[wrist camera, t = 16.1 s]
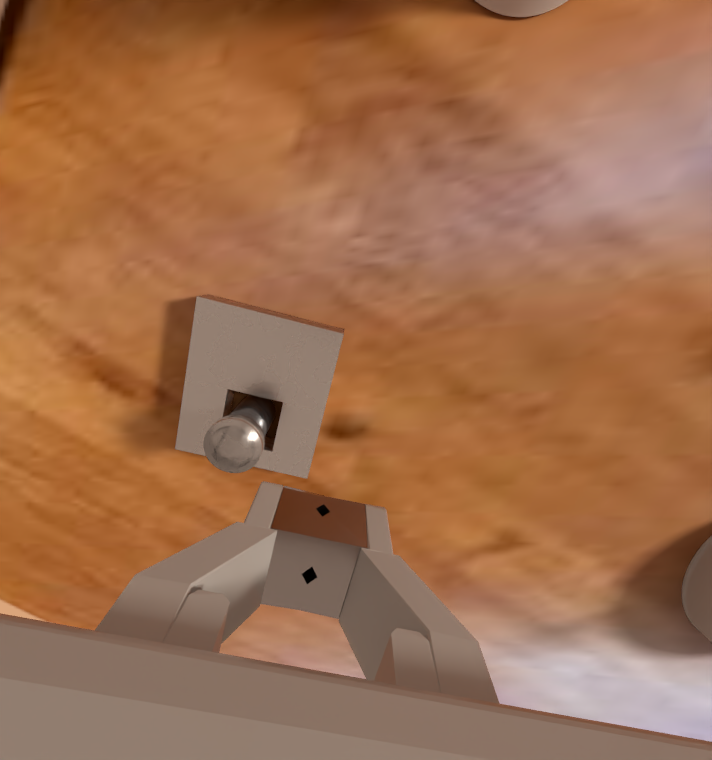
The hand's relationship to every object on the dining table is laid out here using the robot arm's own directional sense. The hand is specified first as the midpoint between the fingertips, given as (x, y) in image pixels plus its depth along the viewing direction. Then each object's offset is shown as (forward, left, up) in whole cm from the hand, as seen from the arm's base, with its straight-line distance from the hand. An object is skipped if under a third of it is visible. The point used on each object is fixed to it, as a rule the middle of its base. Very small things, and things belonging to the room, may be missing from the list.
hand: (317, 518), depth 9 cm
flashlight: (+11, -7, -31) cm, 34 cm away
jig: (+8, -7, -31) cm, 33 cm away
